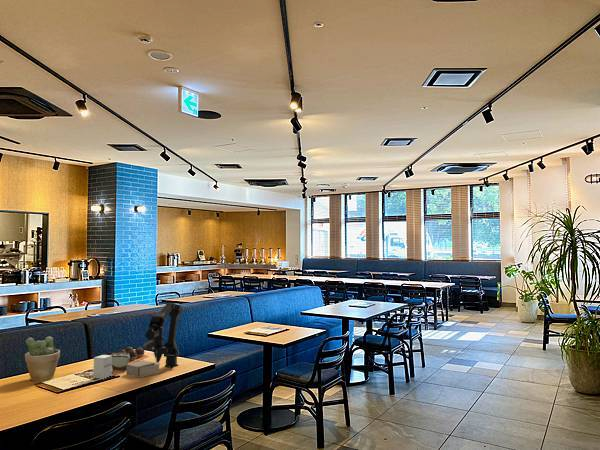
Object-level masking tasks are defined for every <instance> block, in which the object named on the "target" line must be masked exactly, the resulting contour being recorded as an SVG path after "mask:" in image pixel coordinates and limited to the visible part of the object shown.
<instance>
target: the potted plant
mask: <svg viewBox="0 0 600 450" xmlns="http://www.w3.org/2000/svg"><path fill="white" fill-rule="evenodd" d="M25 343H26V344H25V345H26V346H27V348H28V352H26V353H25V354H24V359H25V363H26V367H27V370H28V374H29V378H30V379H31V381H32V382H46V381H49V380H52V379H53V378H54V377H55V372H56V369H57V368H58V367H57V366H58V364H59V363H58V362H59V359H60V355H61V350H60V349H57V348H55V347H54V345H55V344H54V337H52V336H46V337H45V339H44V340H43V339H42V340H35V339H34V338H33V337H28V338H27V339H26V340H25Z"/></svg>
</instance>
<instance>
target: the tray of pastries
mask: <svg viewBox="0 0 600 450" xmlns="http://www.w3.org/2000/svg"><path fill="white" fill-rule="evenodd" d="M115 353H129V355H130V358H129V361H128V364H130V363H134V362H138V361H142V360H145V359H147V358H149V355H146V354H145V349H144V347H139V346H138V347H136V348H135V349H134V348H133V347H132V346H127V347H125V348H124V349H121V348H120V349H119V350H117V352H115V351H114V352H110V354H109V355H112V354H115Z"/></svg>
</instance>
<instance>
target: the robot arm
mask: <svg viewBox="0 0 600 450" xmlns="http://www.w3.org/2000/svg"><path fill="white" fill-rule="evenodd" d="M182 312H183V307H182V306H181V305H179V304H176V303H174V302H166V303H165V306H164V307H163V308H162V309H161V310H160V311H159V312H157V313H155V314H154V315H152V316H151V318H150V321H149V325H148V330H147V331H146V332H145V338H146V339H147V340H149V341H147V342H145V343H143V344H142V345H143V349H144V351H149V350H150V351H151V352H152V353H153V356H154V358H157V362H159V363H160V361H161V358H162V357H164V358H165V365H164V367H167V368H174V367H178V366H179V364H178V361H177V359H178V358H179V356H180V351H179V349H178V345H177V342H176V339H177V332H178V331H177V329H178V321H179V318H180V317H181V316H182ZM168 316H169V318H170V320H169V328H168V336H167V341H165V343H164V342H163V341H164V339H165V338H164V328H165V326H164V324H165V323H166V317H168ZM163 343H164V344H163Z"/></svg>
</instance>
